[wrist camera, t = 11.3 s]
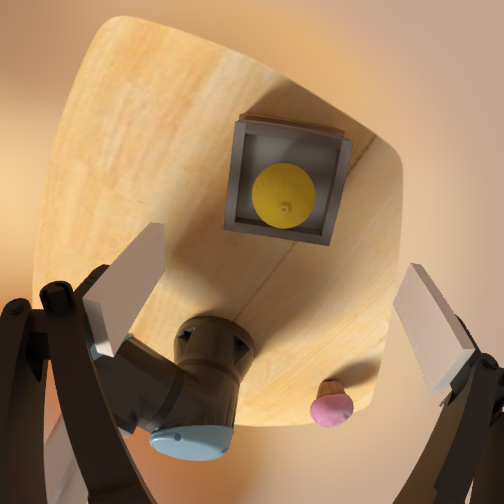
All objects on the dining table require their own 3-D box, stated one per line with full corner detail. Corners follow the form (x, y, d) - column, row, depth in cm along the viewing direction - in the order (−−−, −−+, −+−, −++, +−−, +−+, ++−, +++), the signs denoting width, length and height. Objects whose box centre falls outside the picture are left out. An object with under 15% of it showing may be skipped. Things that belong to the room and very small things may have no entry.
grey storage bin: (319, 212, 41) (332, 251, 31) (234, 199, 41) (218, 233, 31) (336, 128, 35) (358, 137, 25) (244, 113, 35) (230, 116, 25)
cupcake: (310, 398, 61) (311, 435, 52) (307, 375, 57) (309, 415, 48) (348, 393, 59) (354, 429, 51) (350, 370, 56) (357, 409, 47)
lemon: (320, 172, 28) (333, 195, 21) (294, 217, 31) (298, 254, 24) (270, 146, 28) (267, 161, 21) (246, 194, 30) (235, 224, 23)
